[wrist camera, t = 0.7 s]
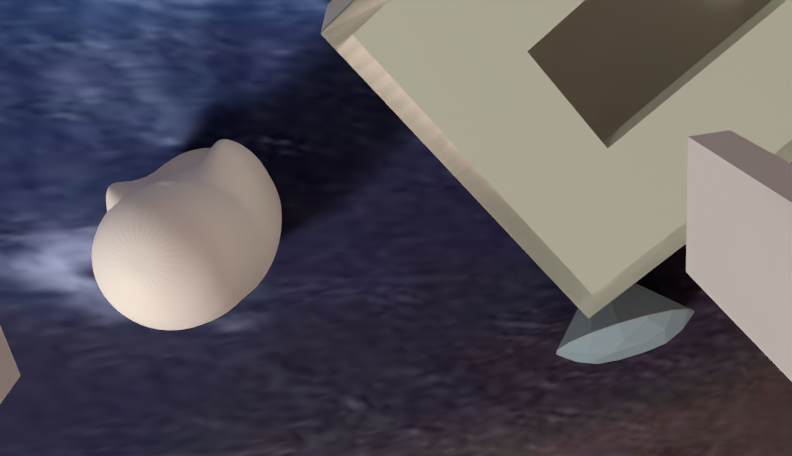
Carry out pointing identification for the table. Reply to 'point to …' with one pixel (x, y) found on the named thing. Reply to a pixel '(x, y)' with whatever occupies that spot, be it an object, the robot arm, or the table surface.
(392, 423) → the table surface
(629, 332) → the gemstone
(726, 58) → the coin box
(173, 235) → the figurine
